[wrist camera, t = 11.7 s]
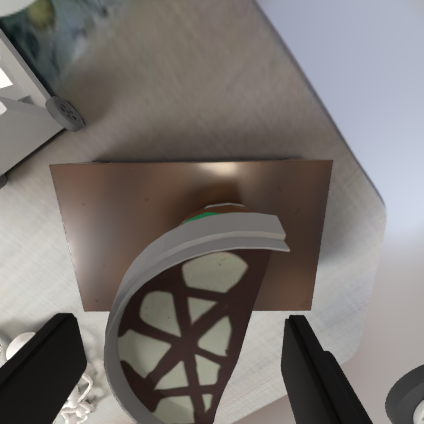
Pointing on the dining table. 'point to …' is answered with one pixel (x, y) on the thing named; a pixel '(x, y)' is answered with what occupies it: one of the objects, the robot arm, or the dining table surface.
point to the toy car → (26, 110)
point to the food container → (187, 313)
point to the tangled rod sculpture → (75, 396)
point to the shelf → (180, 209)
